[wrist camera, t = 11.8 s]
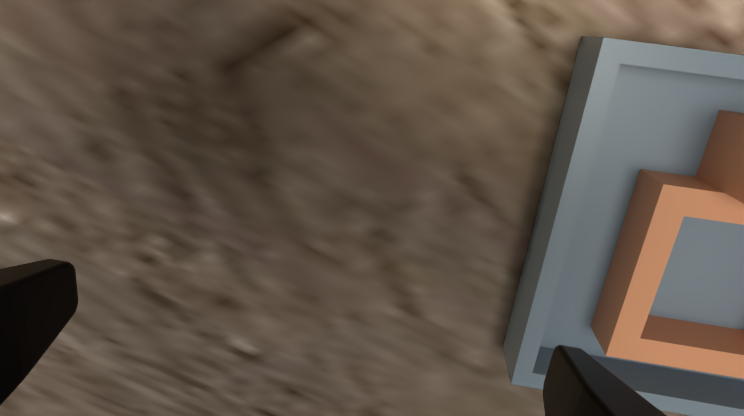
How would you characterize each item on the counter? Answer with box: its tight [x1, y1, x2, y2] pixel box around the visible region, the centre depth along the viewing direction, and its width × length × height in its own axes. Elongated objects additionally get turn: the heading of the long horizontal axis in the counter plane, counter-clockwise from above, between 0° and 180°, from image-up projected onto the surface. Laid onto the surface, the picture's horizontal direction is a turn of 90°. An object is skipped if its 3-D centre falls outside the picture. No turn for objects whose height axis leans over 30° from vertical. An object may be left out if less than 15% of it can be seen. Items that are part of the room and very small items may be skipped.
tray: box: [503, 37, 744, 416], centre depth 19 cm, size 13×13×2 cm
